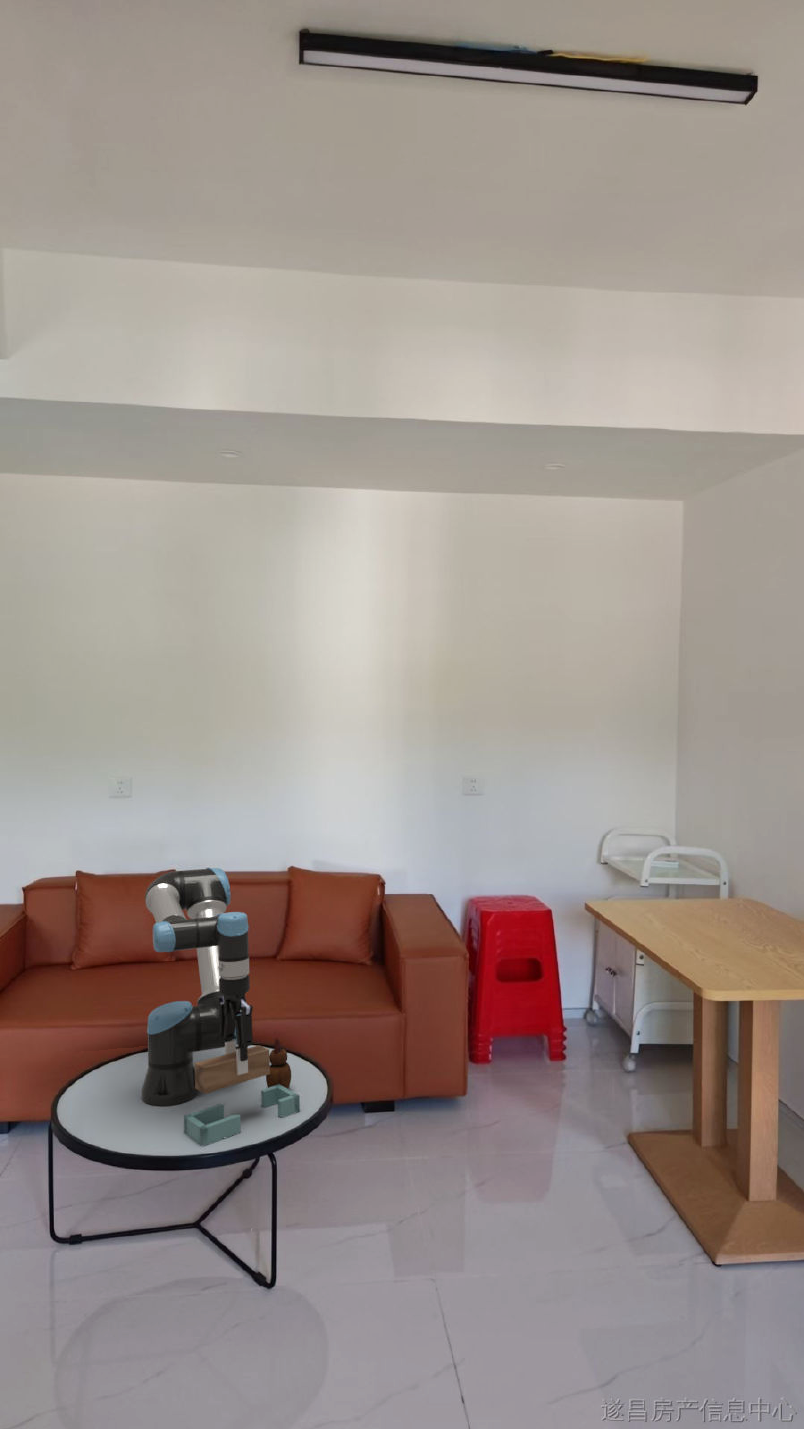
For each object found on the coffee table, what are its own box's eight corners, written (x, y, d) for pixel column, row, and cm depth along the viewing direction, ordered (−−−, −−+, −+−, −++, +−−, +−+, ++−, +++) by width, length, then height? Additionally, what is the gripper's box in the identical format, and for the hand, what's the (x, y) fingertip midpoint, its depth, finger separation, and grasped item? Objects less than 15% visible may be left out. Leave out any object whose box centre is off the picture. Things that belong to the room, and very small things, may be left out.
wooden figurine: (279, 1098, 226) (277, 1041, 226) (262, 1094, 229) (261, 1037, 229) (295, 1089, 231) (294, 1033, 232) (279, 1085, 234) (277, 1030, 235)
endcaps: (184, 1132, 208) (183, 1115, 208) (279, 1099, 225) (279, 1084, 225) (202, 1146, 201) (202, 1129, 201) (299, 1111, 218) (299, 1095, 218)
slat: (195, 1088, 209) (194, 1063, 209) (259, 1068, 221) (259, 1045, 221) (204, 1093, 205) (204, 1068, 206) (269, 1073, 217) (269, 1049, 217)
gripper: (203, 972, 219) (206, 1065, 218) (238, 985, 206) (241, 1084, 204) (230, 967, 224) (232, 1057, 223) (265, 979, 210) (268, 1075, 209)
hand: (236, 1070), depth 214 cm, fingers closed on slat, 5 cm apart
